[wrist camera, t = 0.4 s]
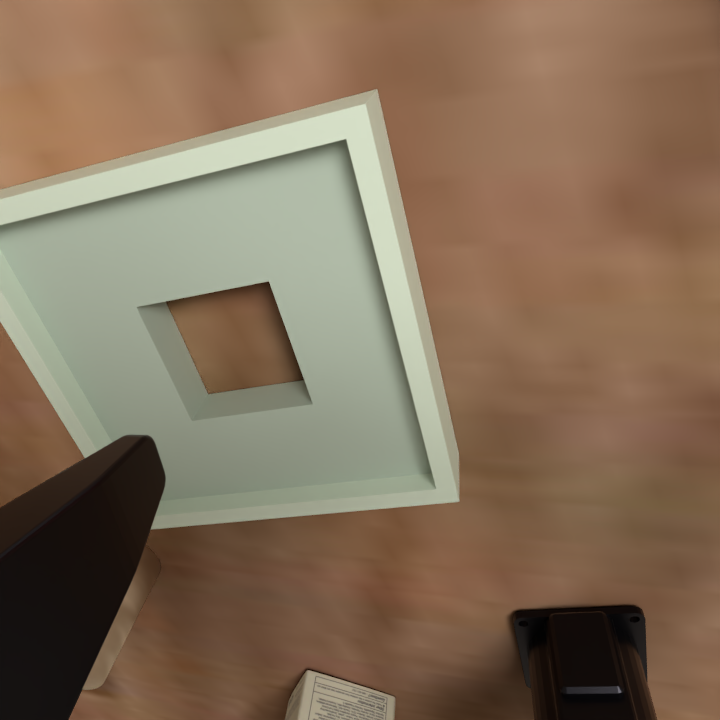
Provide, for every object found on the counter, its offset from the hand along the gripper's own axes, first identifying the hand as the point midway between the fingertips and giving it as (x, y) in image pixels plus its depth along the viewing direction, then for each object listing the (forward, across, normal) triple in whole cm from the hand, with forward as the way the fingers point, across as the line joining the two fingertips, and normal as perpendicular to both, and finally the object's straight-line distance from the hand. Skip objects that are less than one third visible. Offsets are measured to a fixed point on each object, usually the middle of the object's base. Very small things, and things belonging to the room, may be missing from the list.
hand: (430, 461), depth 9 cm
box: (+14, +9, +5) cm, 17 cm away
